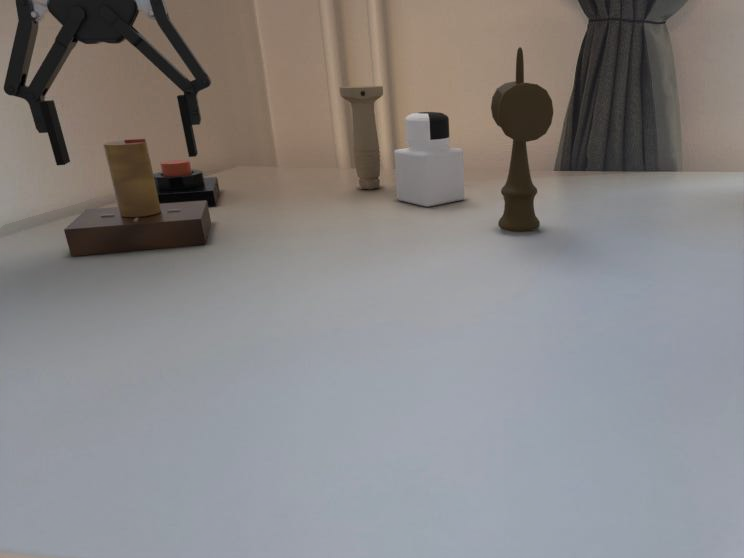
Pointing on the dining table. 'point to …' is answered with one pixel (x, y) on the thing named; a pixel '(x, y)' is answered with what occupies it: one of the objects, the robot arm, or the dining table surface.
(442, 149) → the medicine bottle
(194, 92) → the robot arm
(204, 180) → the release housing
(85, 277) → the dining table surface
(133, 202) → the yellow cylinder
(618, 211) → the dining table surface
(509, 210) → the kendama
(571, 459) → the dining table surface
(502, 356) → the dining table surface
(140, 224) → the plate
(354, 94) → the handle
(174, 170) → the release button
